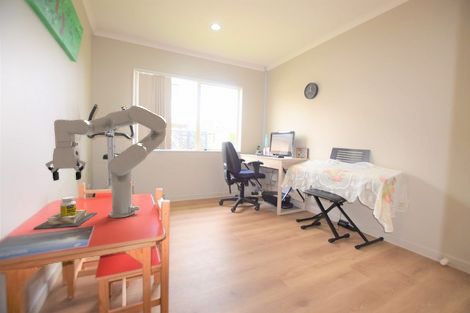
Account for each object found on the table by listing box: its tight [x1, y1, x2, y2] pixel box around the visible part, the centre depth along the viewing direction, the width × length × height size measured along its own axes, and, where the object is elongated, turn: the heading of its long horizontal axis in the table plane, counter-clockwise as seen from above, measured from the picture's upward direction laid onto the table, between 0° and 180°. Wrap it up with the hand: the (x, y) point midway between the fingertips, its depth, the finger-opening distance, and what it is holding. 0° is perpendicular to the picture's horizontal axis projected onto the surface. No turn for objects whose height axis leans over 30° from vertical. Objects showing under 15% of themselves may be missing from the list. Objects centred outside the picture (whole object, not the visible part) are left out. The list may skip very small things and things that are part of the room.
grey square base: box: [33, 209, 98, 230], centre depth 104 cm, size 18×18×4 cm
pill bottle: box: [59, 196, 77, 217], centre depth 103 cm, size 6×6×11 cm
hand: (67, 179), depth 103 cm, fingers open, 9 cm apart
